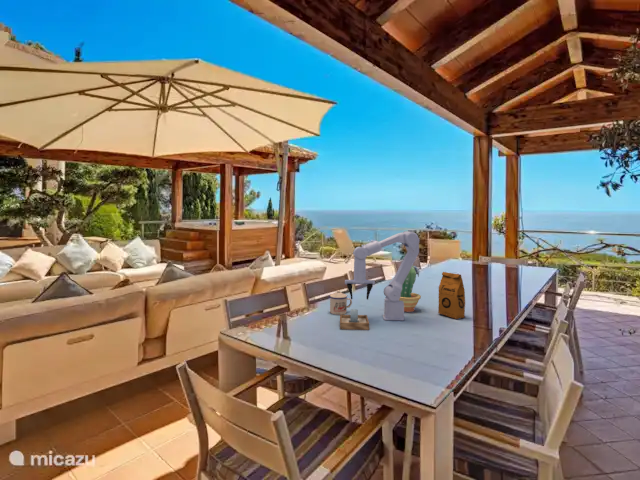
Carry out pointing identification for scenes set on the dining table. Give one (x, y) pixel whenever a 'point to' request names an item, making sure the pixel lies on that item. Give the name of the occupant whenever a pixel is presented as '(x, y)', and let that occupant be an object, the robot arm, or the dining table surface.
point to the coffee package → (451, 296)
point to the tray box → (361, 325)
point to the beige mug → (339, 303)
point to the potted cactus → (410, 291)
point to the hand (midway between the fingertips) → (359, 299)
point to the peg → (354, 316)
